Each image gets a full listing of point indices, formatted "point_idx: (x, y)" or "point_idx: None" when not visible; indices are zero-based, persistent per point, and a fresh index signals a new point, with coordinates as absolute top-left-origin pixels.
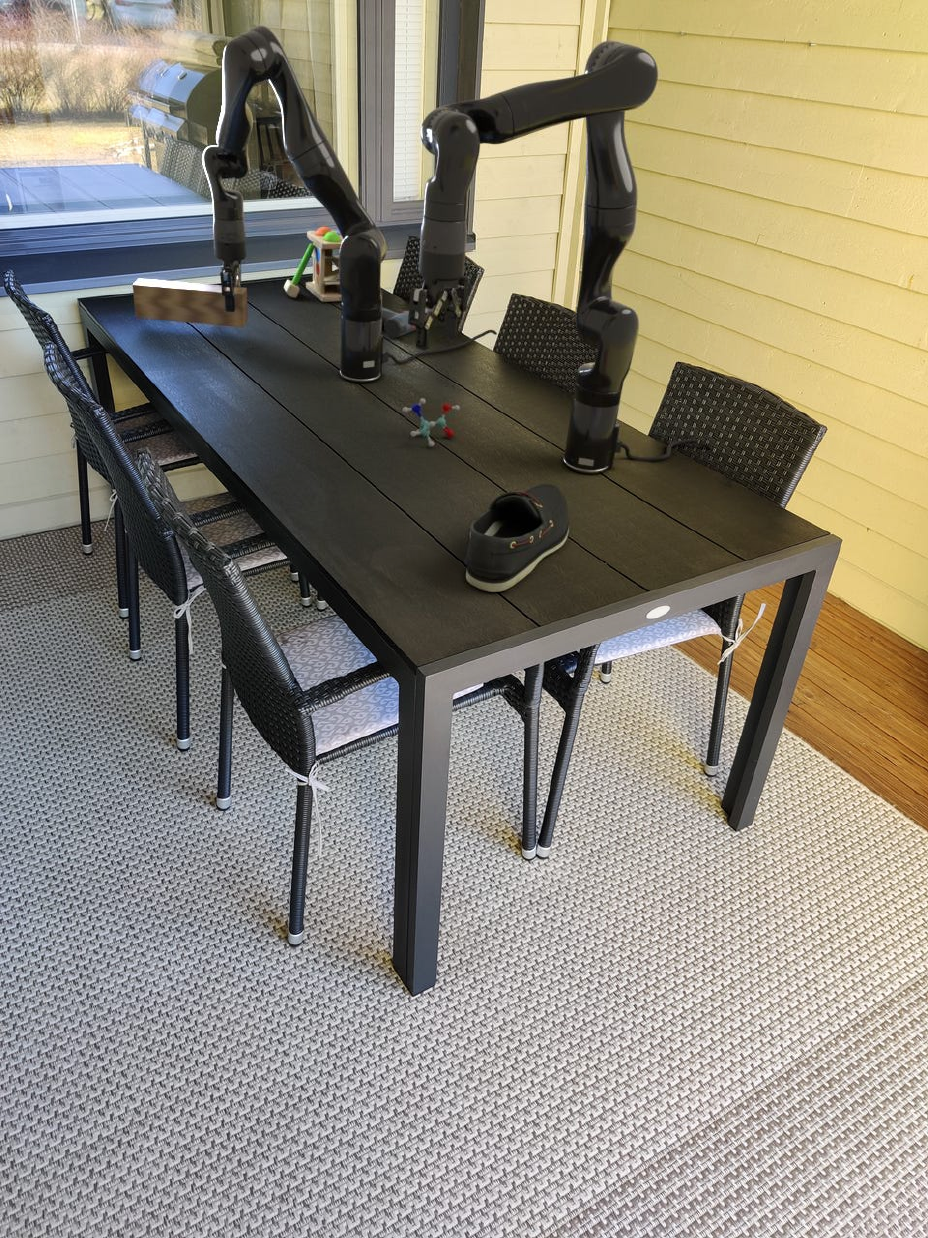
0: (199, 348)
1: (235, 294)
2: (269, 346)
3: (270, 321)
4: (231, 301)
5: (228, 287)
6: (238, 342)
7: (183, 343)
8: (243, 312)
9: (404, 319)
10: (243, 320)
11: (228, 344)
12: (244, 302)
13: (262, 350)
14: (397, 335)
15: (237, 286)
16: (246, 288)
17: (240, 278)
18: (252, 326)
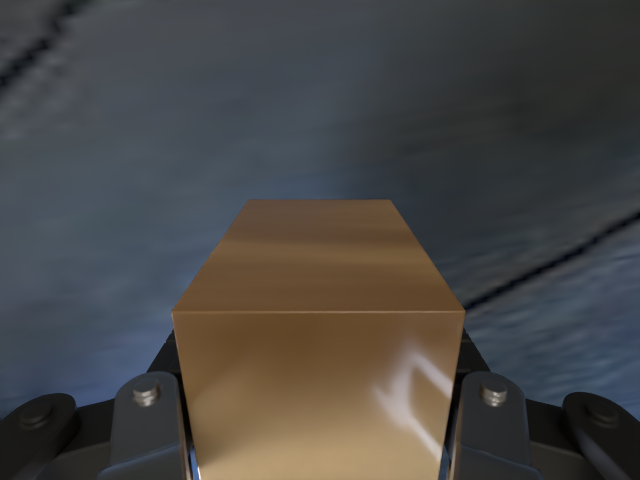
0: (525, 341)
1: (454, 375)
2: (474, 14)
3: (22, 89)
4: (481, 361)
5: (242, 469)
6: (426, 201)
7: None
8: (398, 229)
9: None
10: (397, 211)
11: (462, 241)
12: (343, 255)
13: (547, 47)
14: None
15: (183, 407)
16: (181, 307)
17: (141, 473)
18: (156, 176)
